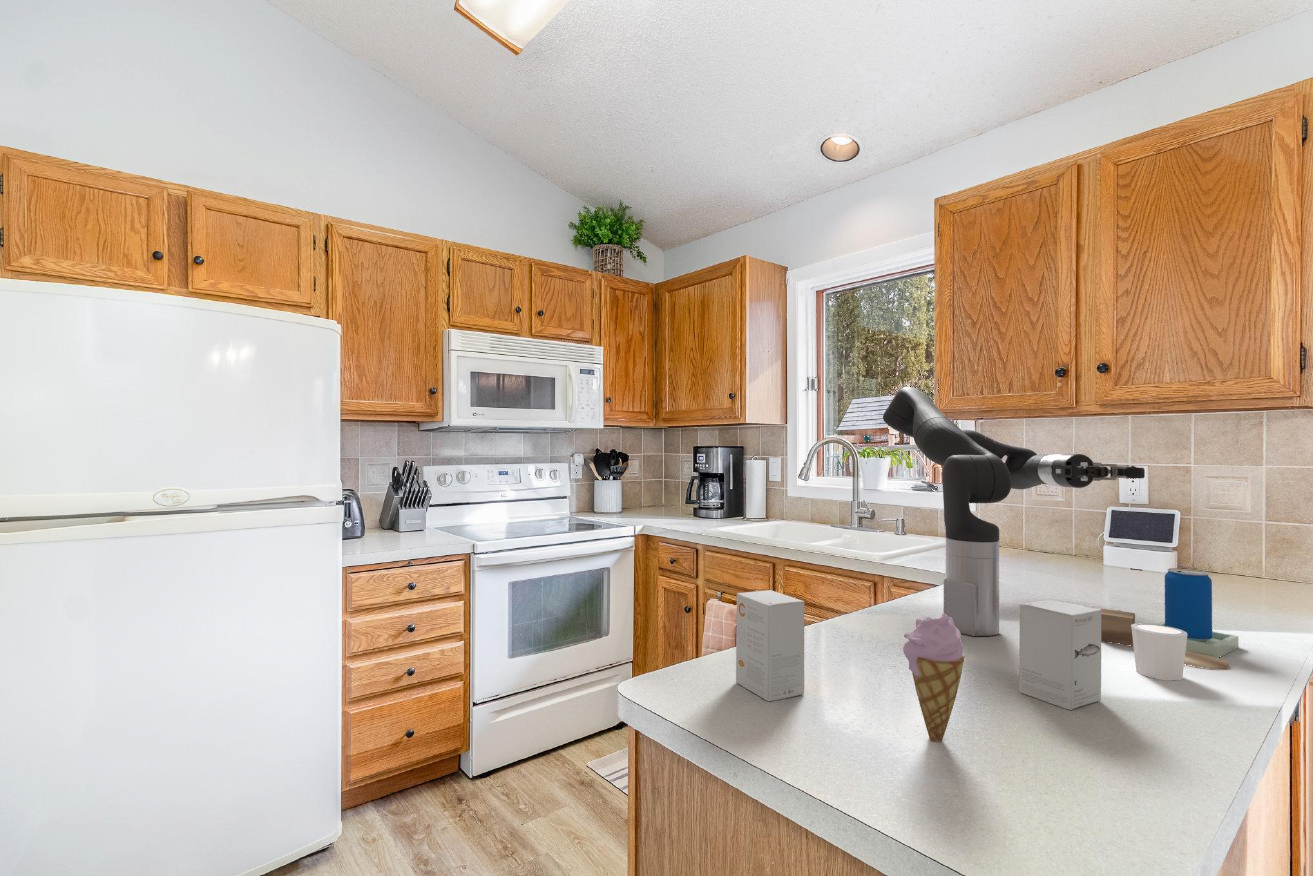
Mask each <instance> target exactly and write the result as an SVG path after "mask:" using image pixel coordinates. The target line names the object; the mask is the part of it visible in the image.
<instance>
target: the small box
mask: <svg viewBox="0 0 1313 876" xmlns="http://www.w3.org/2000/svg"><path fill="white" fill-rule="evenodd" d="M735 623H736V625H735V627H736V630H735V631H736V637H735V641H736V642H735V643H736V644H735V646H736V647H735V683H736V684H738V685H740V686H741V687H743V688H744V689H747V690H748V691H750V692H752V693H753V694H755V695H757V696H758V697H760V698H762V699H763V700H765V701H766V702H774V701H777V700H784V699H788V698H792V697H793V698H794V697H797V696H801V695H805V601H804V600H801V599H800V598H799V599H798V598H796V597H793V596H790V595H787V594H783V593H780V592H777V591H776V590H775V591H774V590H772V589H768V590H767V589H766V590H757V591H746V592H737V593H736V622H735Z"/></svg>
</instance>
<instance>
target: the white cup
mask: <svg viewBox="0 0 1313 876" xmlns="http://www.w3.org/2000/svg"><path fill="white" fill-rule="evenodd" d="M1156 624H1157V623H1145V622H1144V623H1143V622H1142V623H1135V624H1132V625H1131V628H1132V637H1133V653H1134V654H1133V655H1134V663H1135V672H1136V673H1138V674H1139V675H1142V676H1145V677H1147V676H1148V677H1147V678H1152V679H1154V678H1155V680H1162V681H1167V680H1180V681H1181V679H1182V680H1183V675H1184V667H1185V665H1184V660H1185V651H1186V642H1187V632H1185V631H1183V630H1180V629H1177V628H1173V627H1168V626H1163V625H1156Z"/></svg>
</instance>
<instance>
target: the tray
mask: <svg viewBox="0 0 1313 876" xmlns="http://www.w3.org/2000/svg"><path fill="white" fill-rule="evenodd" d="M1155 624H1156V625H1163V626H1165V621H1161V622H1157V623H1155ZM1239 645H1240V644H1239V635H1235V634H1229V633H1224V632H1219V631H1214V630H1212V639H1210V640H1207V642H1205V643H1203V642H1198V641H1194V640H1189V639H1187V642H1186V651H1188V652H1195V653H1201V654H1206V655H1210V656H1214V657H1217V658H1219V657H1220V656H1222V657H1223V655H1224V656H1225V655H1227V654H1229V653H1231V652H1233V651H1235V650H1237V649H1239ZM1228 652H1229V653H1228ZM1220 658H1221V657H1220Z"/></svg>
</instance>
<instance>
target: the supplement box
mask: <svg viewBox="0 0 1313 876" xmlns="http://www.w3.org/2000/svg"><path fill="white" fill-rule="evenodd" d="M1018 643H1019V644H1018V645H1019V647H1018V649H1019V659H1018V661H1019V663H1018V668H1019V669H1018V675H1019V677H1018V678H1019V679H1018V681H1019V682H1018V685H1019V686H1018V691H1019V693H1021V694H1023V695H1026V696H1029V697H1032V698H1035V699H1037V700H1041V701H1043V702H1046V703H1049V704H1051V705H1055V706H1056V707H1060V708H1062V709H1065V710H1070V711H1072V710H1075V709H1076V708H1080V707H1082V706H1085V705H1090V704H1093V703H1098V702H1100V701H1102V641H1101V608H1096V607H1095V608H1094V607H1091V606H1087V605H1081V604H1077V603H1071V602H1065V601H1060V600H1056V599H1044V600H1043V599H1042V600H1038V601H1032V602H1025V603H1020V604H1019V642H1018Z"/></svg>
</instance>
